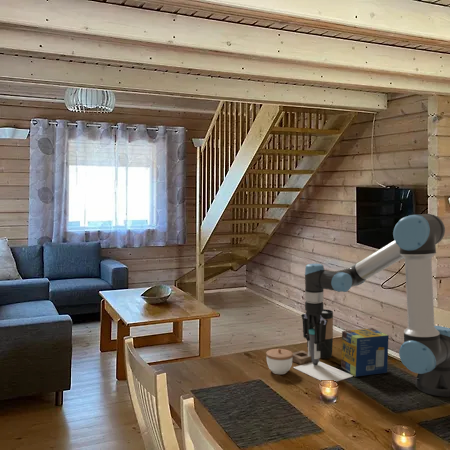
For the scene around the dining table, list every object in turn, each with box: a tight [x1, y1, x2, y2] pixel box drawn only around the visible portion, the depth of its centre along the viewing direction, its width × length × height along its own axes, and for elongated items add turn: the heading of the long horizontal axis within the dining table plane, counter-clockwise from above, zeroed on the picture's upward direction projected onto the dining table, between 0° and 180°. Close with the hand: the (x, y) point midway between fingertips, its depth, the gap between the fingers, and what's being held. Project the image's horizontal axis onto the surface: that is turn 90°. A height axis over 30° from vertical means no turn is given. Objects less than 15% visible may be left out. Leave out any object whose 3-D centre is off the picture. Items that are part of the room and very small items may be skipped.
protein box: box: [340, 328, 389, 377], centre depth 198 cm, size 10×15×16 cm
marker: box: [309, 328, 320, 365], centre depth 203 cm, size 3×3×15 cm
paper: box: [293, 360, 354, 383], centre depth 197 cm, size 20×14×1 cm
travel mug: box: [319, 308, 334, 359], centre depth 216 cm, size 8×8×20 cm
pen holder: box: [292, 350, 312, 366], centre depth 211 cm, size 8×8×2 cm
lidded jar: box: [265, 348, 294, 375], centre depth 198 cm, size 11×11×9 cm
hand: (314, 356), depth 204 cm, fingers closed on marker, 3 cm apart
